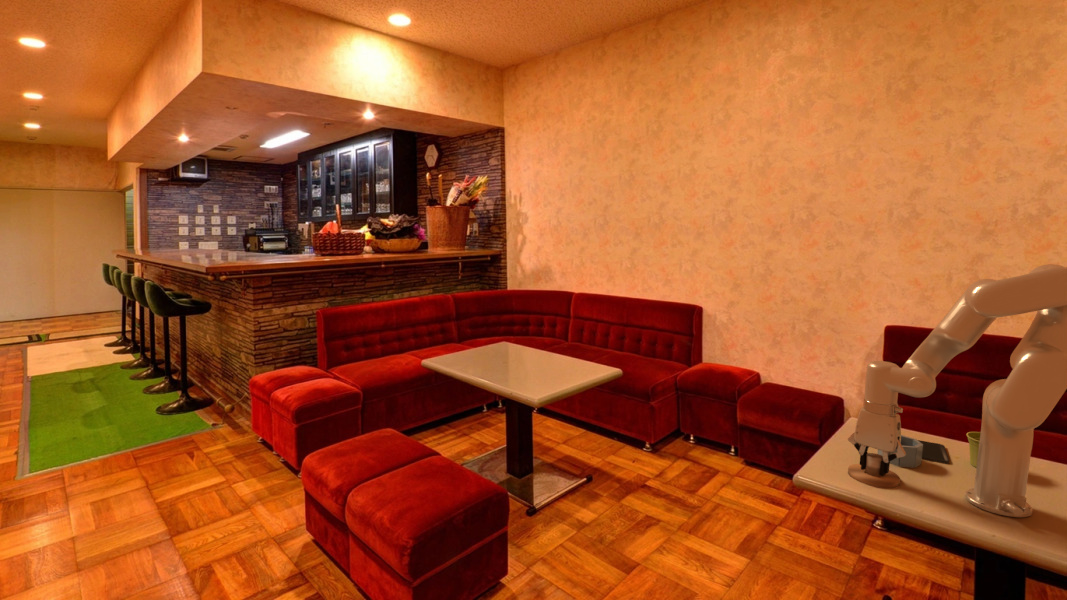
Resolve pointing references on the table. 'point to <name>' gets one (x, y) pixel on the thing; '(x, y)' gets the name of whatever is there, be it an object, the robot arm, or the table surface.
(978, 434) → the plant pot
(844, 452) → the table surface
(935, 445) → the phone
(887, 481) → the lid
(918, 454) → the bowl
